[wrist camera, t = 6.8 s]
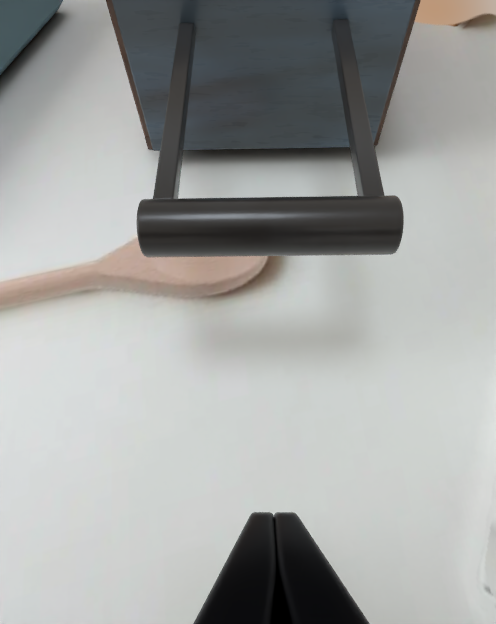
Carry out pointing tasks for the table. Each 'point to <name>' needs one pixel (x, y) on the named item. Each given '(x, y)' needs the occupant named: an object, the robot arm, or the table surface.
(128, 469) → the table surface
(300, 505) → the table surface
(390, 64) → the drawer
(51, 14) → the book
